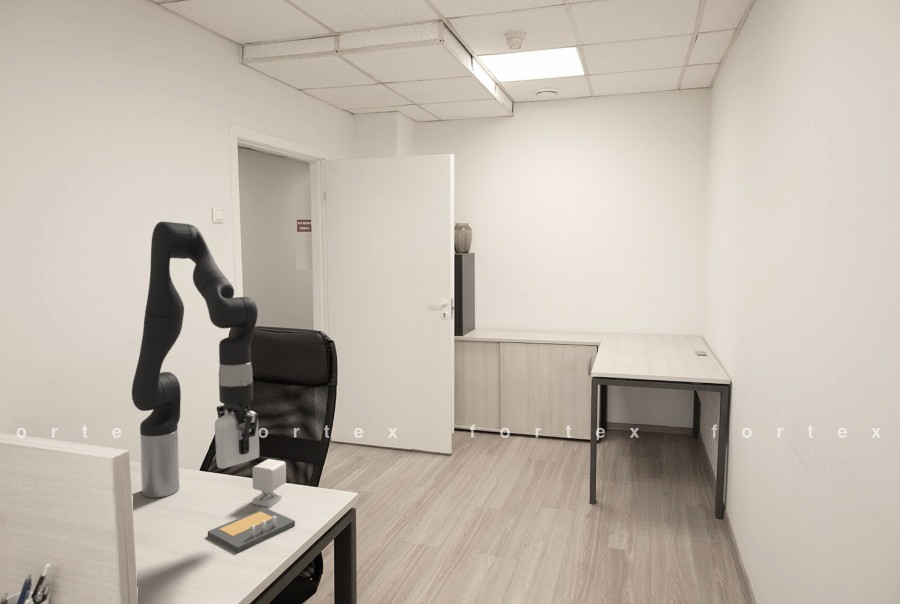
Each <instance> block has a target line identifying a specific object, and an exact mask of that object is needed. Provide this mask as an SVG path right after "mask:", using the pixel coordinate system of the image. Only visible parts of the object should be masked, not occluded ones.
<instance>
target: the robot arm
mask: <svg viewBox="0 0 900 604" xmlns="http://www.w3.org/2000/svg"><path fill="white" fill-rule="evenodd" d="M150 245H151V247H150V270H149V271H150V272H149V274H150V275H149V283H148V293H147V298H146V299H147V300H146V306H145V310H144V311H145V312H144V318H143V331H142V337H141V338H142V339H141V342H140V343H141V345H140V349H139V356H138V360H137V365H136V368H135V373H134V377H133V380H132V386H131V398H132V399H131V400H132V403H133V405H134V406H135V408H136V409H137V410H139V411H141V412H148V411H152V412H151V413H150V414H149V415H148V416H147V417H146V418H145V419H144V420H142V421H141V423H140V426H139V430H140V431H139V433H140V457H141V458H140V470H141V472H140V475H141V491H142V496H143V497H146V498H152V499H153V498H154V499H155V498H164V497H168V496H171V495H172V494H175V493H177V492H178V491H179V490H180V468H179V466H180V465H179V464H180V463H179V437H178V434H179V432H178V431H179V430H178V424H179V421H180V419H181V403H182V402H181V399H182V398H181V396H182V392H181V385H180V381H179V379H178V377H177V376H176V375H175V374H174V373H172V372H169V371H163V372H161V370H162V366H163V363H164V360H165V358H166V357H167V355H168V354H169V353H170V351H171V349H172V348H173V346H174V345H175V343H176V342H177V341H178V339H179V337H180V335H181V332H182V328H183V321H184V315H185V314H184V313H185V305H184V302H183V300H182V298H181V296H180V294H179V292H178V290H177V289H176V288H177V287H175V284H174V283H173V280H172V277H171V271H170V269H171V268H170V265H171V264H170V263H171V259H179V260H181V259H185V260H186V259H189V260H191V261H192V262H194V264H195V266H194V269H193V272H192V281H193V284H194V287H195V288H196V289H197V291H198V292H199V294H200V295H201V296H202V298H203V299H204V301H205V305H206V307H207V311H208V315H209V316H208V317H209V320H210V322H211V324H213V325H214V326H215V327H216V328H219V329H231V328H232V329H234V328H236V329H235V330H234V333H233V334H231V335H230V336H227V337H225V338H222V339H221V340H220V341H219V344H218V356H219V357H218V358H219V361H218V362H219V367H218V389H219V402H220V403H221V404H223V405H219V406H216V412H217V419H219V418H220V417H222V416H224V415H226V414H229V413H231V416H232V417H233V418H234V420H235V427H236V430H237V431H238V435H239V454H241V455H243V454H246V453H248V452H249V438H250V437H253V436H255V433H256V427H257V421H258V422H259V413H257V412H255V414H253V413H251V412H250V411H251V407H250V403H251V401H252V400H253V399H254V379H253V377H254V375H253V366H252V352H251V348H252V347H251V345H252V341H253V337H254V334H255V333H254V332H255V328H256V324H257V321H258V315H259V313H258V306H257V304H256V302H255V301H254V300H253V299H252V298H251V297H249V296H237V297H234V295H235V289H234V286H233V285H232V283H231V282H230V281H229V279H228V278H227V277H226V276H225V274H224V273H223V272H222V270H221V269H220V268H219V266H218V265H217V263H216V261H215V259H214V257H213V254H212V253H211V250H210V248H209V247H208V244H207V242H206V241H205V237H204V235H203V234H202V233H201V231H200V230H199V229H198V227H196V226H195V225H193V224H191V223H183V222H182V223H181V222H173V221H159V222H158V223H156V224H155V226H154V228H153V231H152V235H151V244H150ZM242 423H245V425H242V426H240V425H239V424H242ZM243 428H244V434H243V432H242V429H243ZM250 429H251V432H250Z"/></svg>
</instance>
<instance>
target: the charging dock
mask: <svg viewBox="0 0 900 604" xmlns="http://www.w3.org/2000/svg"><path fill="white" fill-rule="evenodd" d="M295 526H296V521H295V520H294V519H291V518H290V517H287V516H285V515H282V514H280V513H279V512H276V511H273V510H272V509H270V508H268V507H266V506H263V507H262V508H260V509H258V510H256V511H255V510H254V511H253V512H251V513H248V514H246V515H243V516H241V517H239V518H236V519H233V520H231V521H229V522H227V523H224V524H221V525H219V526H217V527H215V528H213V529H210V530H208V531H207V537H209V538H210V539H213V541H217V542H218V543H220V544H221V543H222V545H223V544H224V545H223V546H225V545H226V546H225V547H227V548H228V549H231V550H232V549H233V550H232V551H234V552H236V553H240V552H242V551H244V550H247V549H249V548H250V546H251V547H253V546H255V545H257V544H258V543H259V544H260V543H261V542H263V541H266V540H267V539H269V538H272V537H274V536H276V535H278V534H281V533H282V532H285V531H286V530H288V529H290V528H292V527H295ZM254 544H255V545H254ZM252 545H253V546H252Z"/></svg>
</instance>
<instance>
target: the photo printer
mask: <svg viewBox="0 0 900 604" xmlns="http://www.w3.org/2000/svg"><path fill="white" fill-rule="evenodd" d="M250 412H251V413H253V414H255V413H256V412H255V411H253V410H250ZM223 415H224V414H223ZM239 425H240V426H242V425H245V423H242V424H239ZM242 432H243V434H244V428H243V429H242ZM250 432H251V429H250ZM214 440H215V442H214V443H215V455H216V457H215V461H216V466H217V468H219V469H223V470H224V469H227V468H230V467H233V466H237V465H241V464H242V463H243V464H244V463H246V462H249V461H250V462H251V461H252V460H255V459H258V458H259V457H260V436H259V420H258V421H257V427H256V433H255V436H253V437H250V438H249V452H248V453H246V454H243V455H241V454H239V435H238V431H237V430H236V427H235V420H234V418H233V417H232V416H231V413H229V414H226V415H224V416H222V417H220V418H219V419H218V418H217V419H216V420H215V422H214Z"/></svg>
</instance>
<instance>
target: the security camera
mask: <svg viewBox="0 0 900 604" xmlns="http://www.w3.org/2000/svg"><path fill="white" fill-rule="evenodd" d="M286 483H287V463H286V462H285V461H282V460H276V459H272V458H271V459H270V458H267V459H266V460H264V461H261V462H260V463H258V464H257V465H254V466H253V467H252V488H253V490H257V491H260V492H261V493H259V495H257V496H255V497H254V498H252V504H253V505H255V506H256V505H257V506H262V507H266V508H270V507H272V506H273V505H274V504H276V503H278V502H279V501H281V500H282V493H276V492H274V491H276V489H278V488H280V487H282V486H283V485H285V484H286Z"/></svg>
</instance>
